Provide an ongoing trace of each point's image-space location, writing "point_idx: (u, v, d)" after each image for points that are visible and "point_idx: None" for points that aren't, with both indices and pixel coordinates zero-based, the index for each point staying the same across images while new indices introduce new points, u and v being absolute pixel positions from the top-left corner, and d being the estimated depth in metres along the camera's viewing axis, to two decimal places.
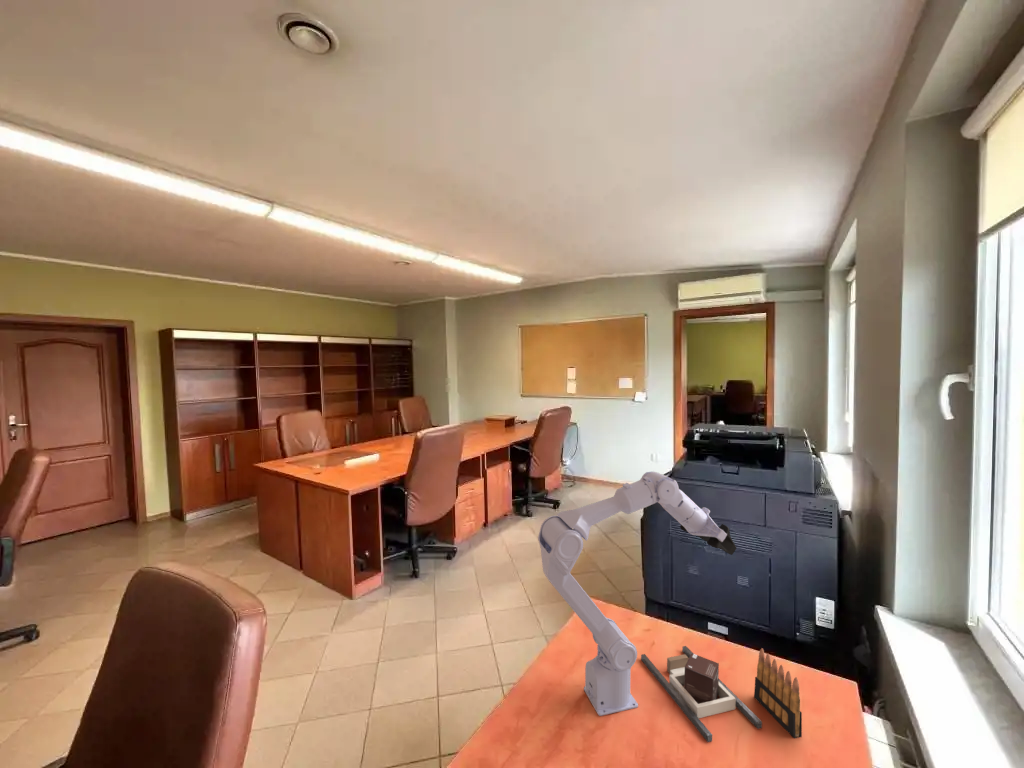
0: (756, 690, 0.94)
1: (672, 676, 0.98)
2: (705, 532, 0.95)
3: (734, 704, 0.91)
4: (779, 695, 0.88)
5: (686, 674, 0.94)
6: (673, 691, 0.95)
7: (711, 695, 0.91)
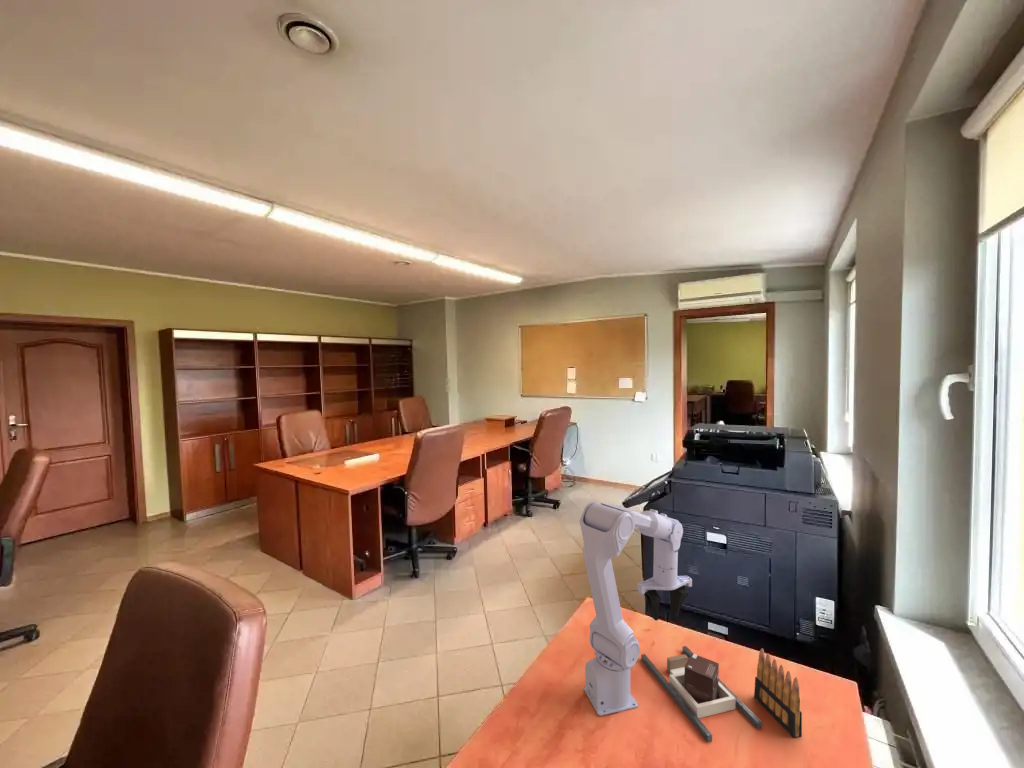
0: (756, 690, 0.94)
1: (672, 676, 0.98)
2: (679, 583, 1.07)
3: (734, 704, 0.91)
4: (779, 695, 0.88)
5: (686, 674, 0.94)
6: (673, 691, 0.95)
7: (711, 695, 0.91)
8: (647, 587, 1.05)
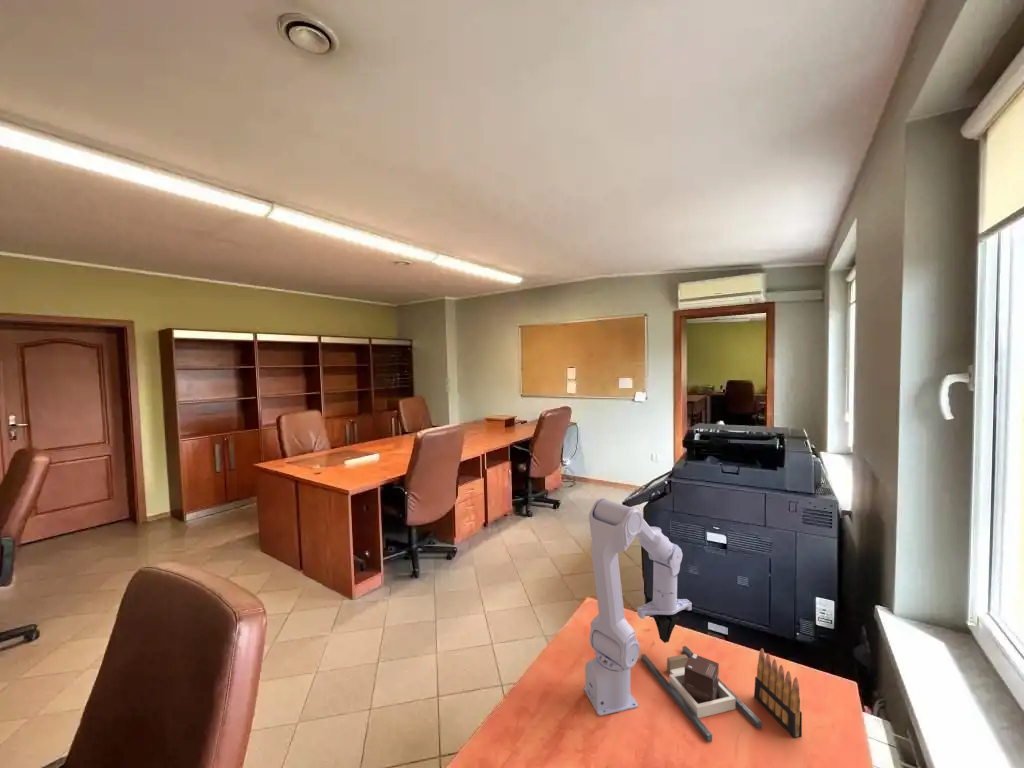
0: (756, 690, 0.94)
1: (672, 676, 0.98)
2: (679, 607, 1.07)
3: (734, 704, 0.91)
4: (779, 695, 0.88)
5: (686, 674, 0.94)
6: (673, 691, 0.95)
7: (711, 695, 0.91)
8: (647, 612, 1.05)
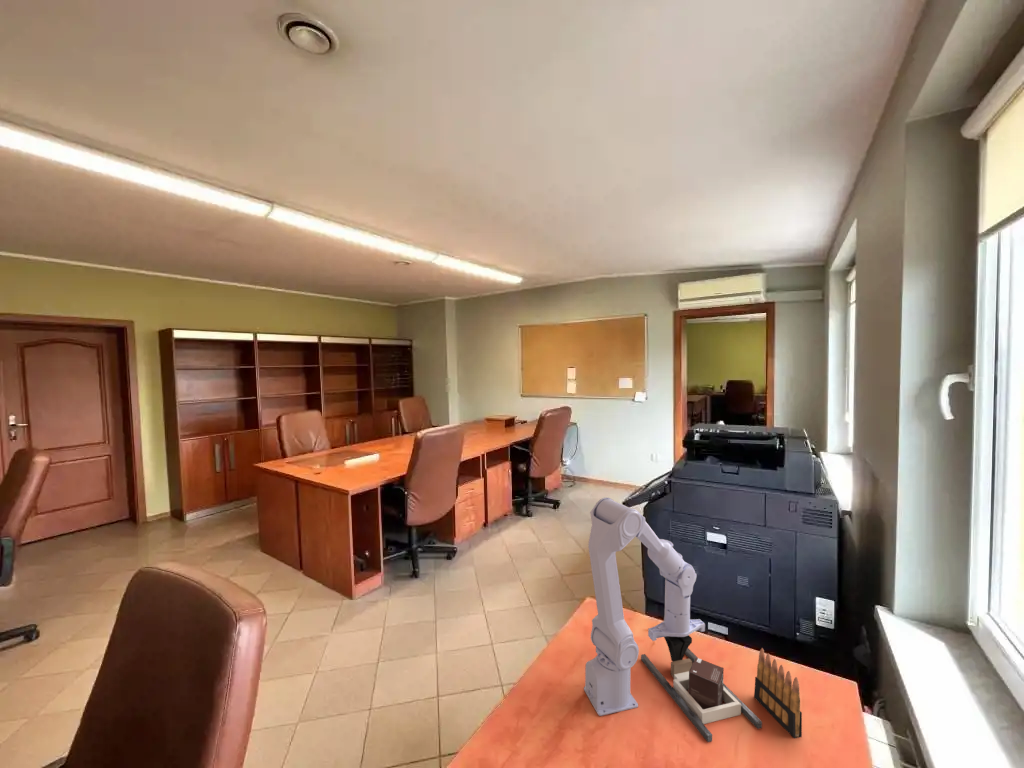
0: (756, 690, 0.94)
1: (676, 681, 0.96)
2: (692, 628, 1.03)
3: (739, 709, 0.90)
4: (779, 695, 0.88)
5: (690, 679, 0.92)
6: (673, 691, 0.95)
7: (716, 700, 0.89)
8: (658, 633, 1.00)
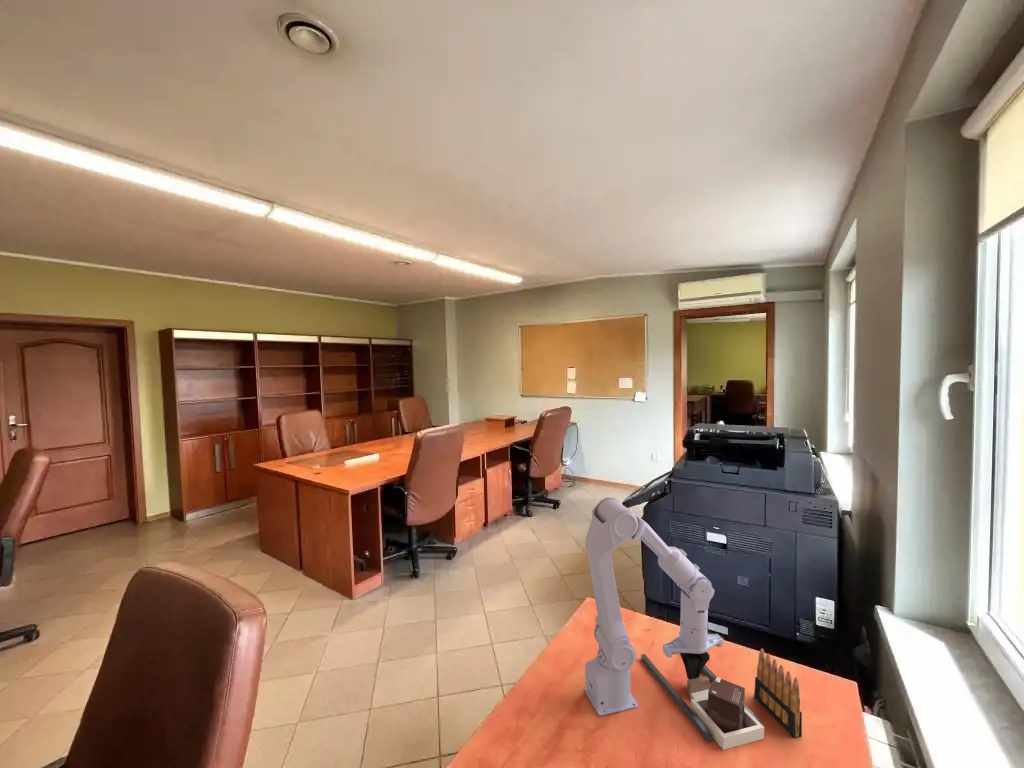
0: (756, 690, 0.94)
1: (694, 701, 0.91)
2: (709, 644, 0.97)
3: (763, 733, 0.84)
4: (779, 695, 0.88)
5: (710, 700, 0.86)
6: (673, 691, 0.95)
7: (738, 724, 0.84)
8: (674, 650, 0.95)
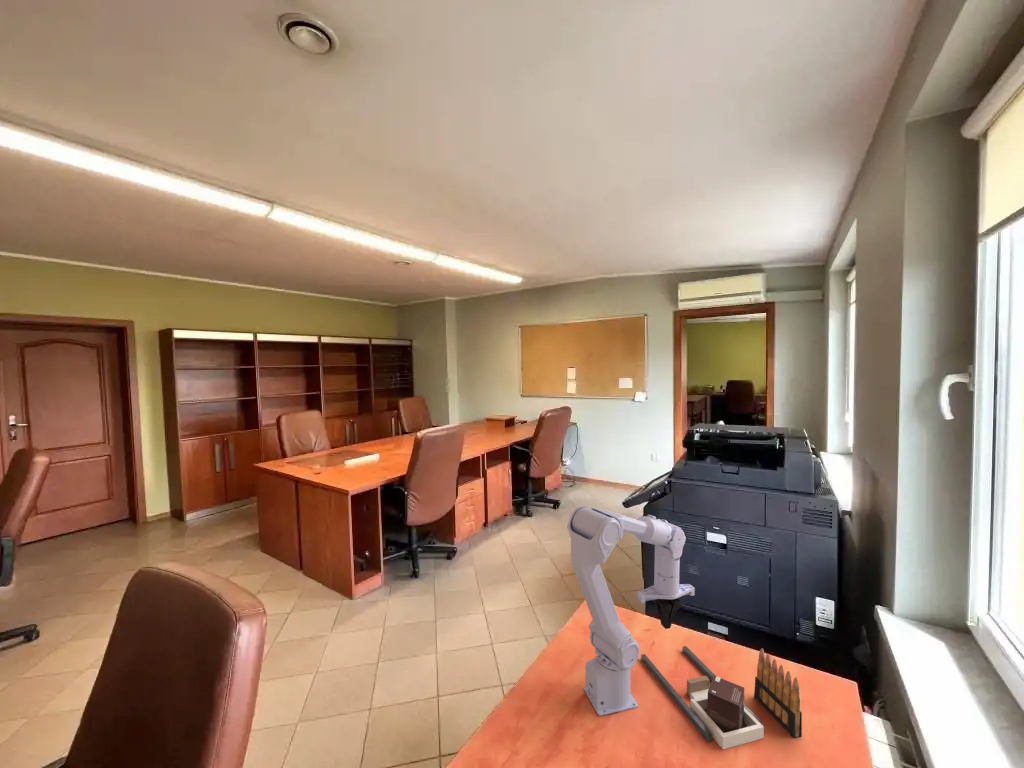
0: (756, 690, 0.94)
1: (693, 701, 0.91)
2: (681, 592, 1.03)
3: (762, 733, 0.84)
4: (779, 695, 0.88)
5: (709, 700, 0.87)
6: (673, 691, 0.95)
7: (737, 723, 0.84)
8: (647, 596, 1.01)
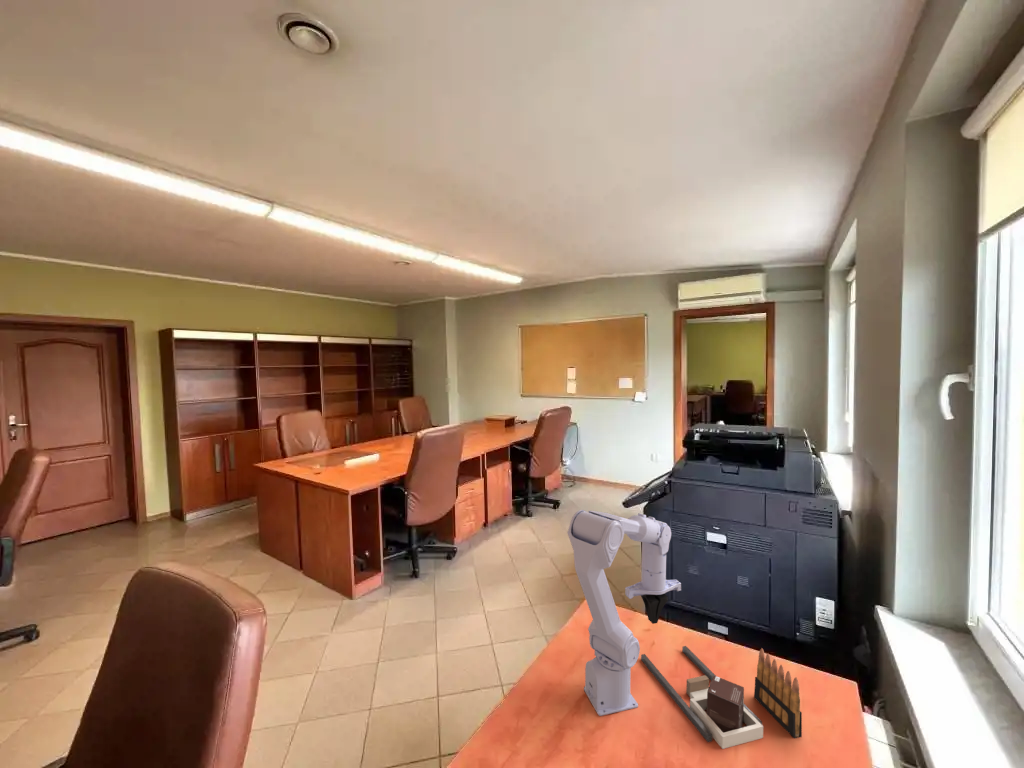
0: (756, 690, 0.94)
1: (693, 700, 0.91)
2: (668, 587, 1.05)
3: (762, 732, 0.84)
4: (779, 695, 0.88)
5: (709, 699, 0.87)
6: (673, 691, 0.95)
7: (737, 723, 0.84)
8: (635, 591, 1.03)
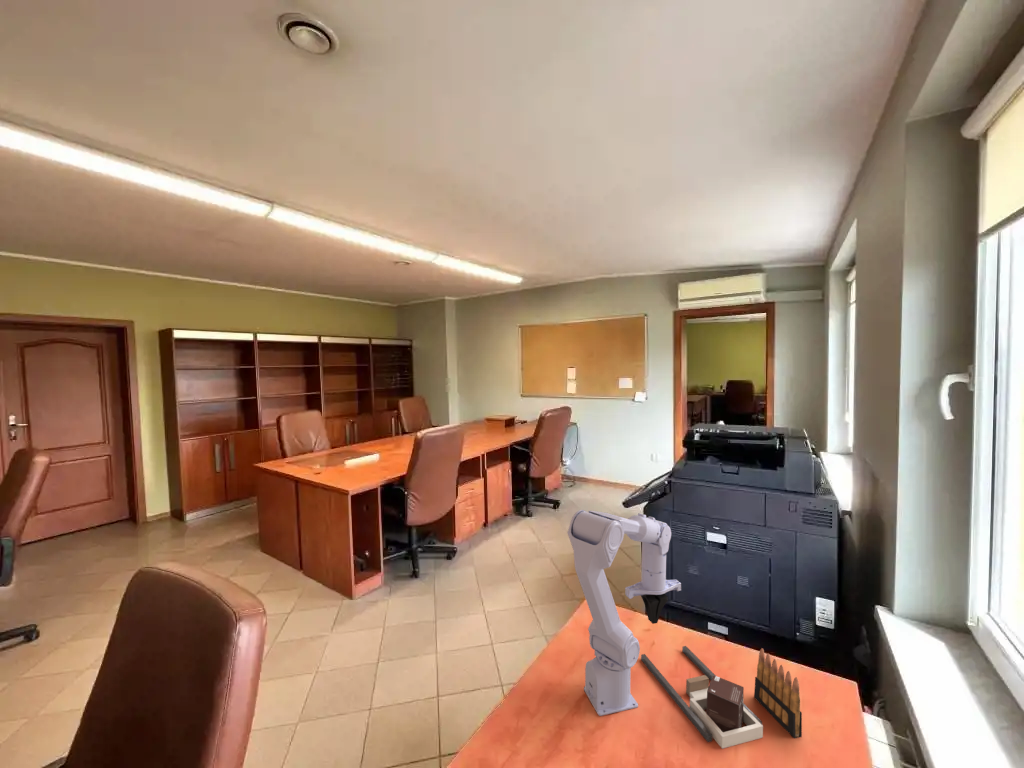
0: (756, 690, 0.94)
1: (693, 700, 0.91)
2: (668, 587, 1.05)
3: (761, 732, 0.84)
4: (779, 695, 0.88)
5: (709, 699, 0.87)
6: (673, 691, 0.95)
7: (737, 722, 0.84)
8: (635, 591, 1.03)
